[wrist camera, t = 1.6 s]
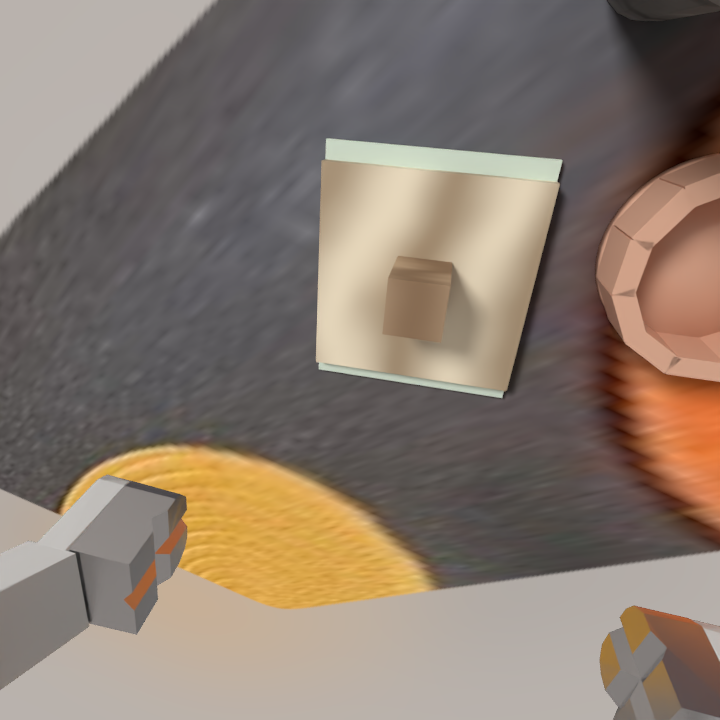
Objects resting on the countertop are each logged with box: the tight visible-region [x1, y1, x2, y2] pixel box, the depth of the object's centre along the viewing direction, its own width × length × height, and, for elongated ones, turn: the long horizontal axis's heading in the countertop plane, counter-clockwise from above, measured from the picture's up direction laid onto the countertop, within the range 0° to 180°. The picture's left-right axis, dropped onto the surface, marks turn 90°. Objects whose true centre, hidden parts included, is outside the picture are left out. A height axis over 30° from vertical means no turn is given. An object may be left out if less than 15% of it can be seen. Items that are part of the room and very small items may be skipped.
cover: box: [316, 159, 560, 391], centre depth 25 cm, size 12×12×5 cm
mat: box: [319, 138, 563, 398], centre depth 28 cm, size 12×14×1 cm
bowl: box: [595, 153, 720, 382], centre depth 23 cm, size 10×10×4 cm
